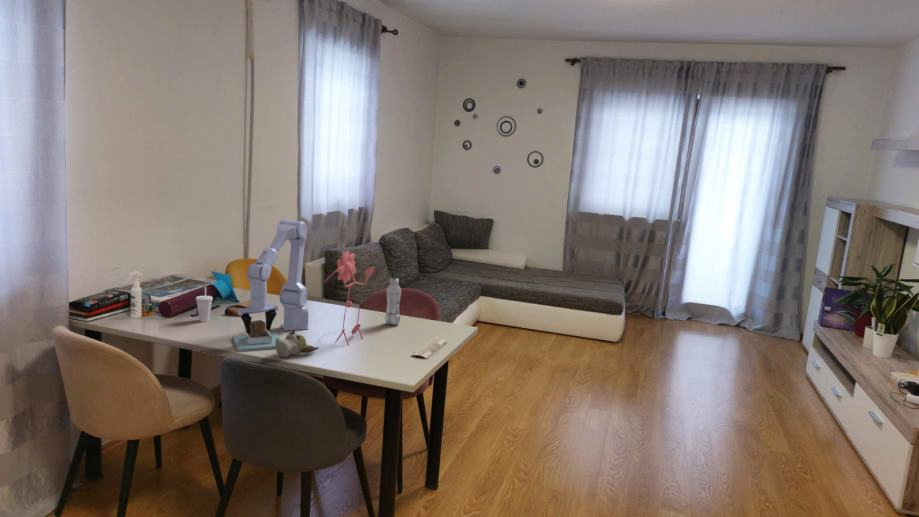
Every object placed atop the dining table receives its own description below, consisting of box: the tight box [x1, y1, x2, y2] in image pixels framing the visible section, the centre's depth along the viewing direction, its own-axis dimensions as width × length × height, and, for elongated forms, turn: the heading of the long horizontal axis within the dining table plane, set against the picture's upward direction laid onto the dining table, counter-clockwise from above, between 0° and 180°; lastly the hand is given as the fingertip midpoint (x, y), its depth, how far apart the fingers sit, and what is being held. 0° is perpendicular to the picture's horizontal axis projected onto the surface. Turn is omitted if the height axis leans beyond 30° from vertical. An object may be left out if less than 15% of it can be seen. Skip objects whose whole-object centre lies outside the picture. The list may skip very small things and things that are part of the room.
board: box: [232, 332, 281, 353], centre depth 234 cm, size 16×16×1 cm
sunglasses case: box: [224, 300, 250, 318], centre depth 273 cm, size 18×7×7 cm
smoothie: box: [195, 286, 214, 323], centre depth 255 cm, size 6×6×14 cm
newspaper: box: [410, 336, 447, 360], centre depth 241 cm, size 24×7×2 cm, turn 163°
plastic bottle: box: [384, 277, 402, 326], centre depth 267 cm, size 6×7×20 cm
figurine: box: [319, 250, 375, 346], centre depth 242 cm, size 15×26×35 cm, turn 153°
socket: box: [243, 329, 272, 345], centre depth 234 cm, size 9×9×2 cm
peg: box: [250, 319, 266, 337], centre depth 233 cm, size 4×4×7 cm
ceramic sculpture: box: [275, 331, 319, 358], centre depth 224 cm, size 11×9×15 cm
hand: (258, 331), depth 233 cm, fingers open, 7 cm apart
